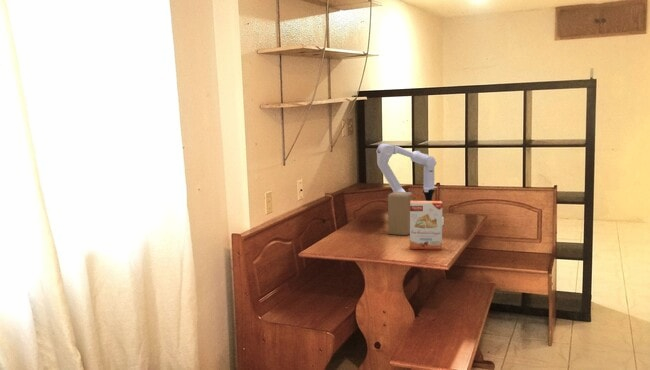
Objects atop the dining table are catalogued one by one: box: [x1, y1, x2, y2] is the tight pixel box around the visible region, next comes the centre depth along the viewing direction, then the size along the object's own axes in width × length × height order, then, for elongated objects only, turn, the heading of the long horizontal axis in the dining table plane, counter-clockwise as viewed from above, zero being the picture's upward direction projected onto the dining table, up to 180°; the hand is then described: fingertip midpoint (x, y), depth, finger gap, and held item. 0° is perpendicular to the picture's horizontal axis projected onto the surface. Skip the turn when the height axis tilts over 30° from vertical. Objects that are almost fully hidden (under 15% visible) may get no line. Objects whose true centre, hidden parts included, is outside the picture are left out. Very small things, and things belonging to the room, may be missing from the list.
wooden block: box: [387, 191, 414, 237], centre depth 290 cm, size 10×10×20 cm
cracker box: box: [409, 200, 443, 251], centre depth 259 cm, size 14×6×21 cm, turn 82°
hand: (428, 203), depth 319 cm, fingers closed
